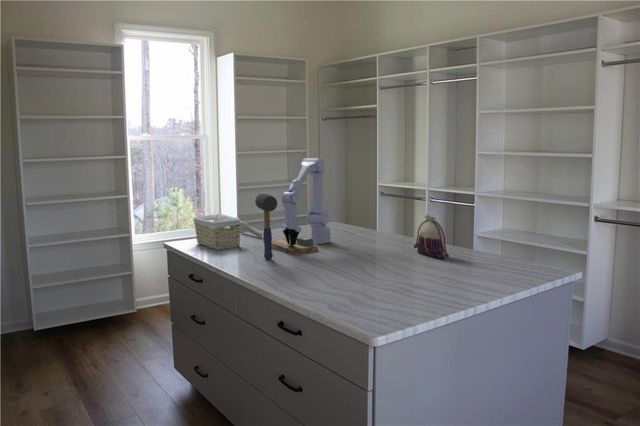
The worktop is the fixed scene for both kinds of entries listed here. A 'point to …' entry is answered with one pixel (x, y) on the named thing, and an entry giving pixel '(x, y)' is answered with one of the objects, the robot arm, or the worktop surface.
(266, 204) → the rubber mallet
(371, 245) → the worktop surface
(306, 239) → the block
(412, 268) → the worktop surface
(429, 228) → the pouch
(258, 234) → the gun
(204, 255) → the worktop surface
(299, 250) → the board
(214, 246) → the storage basket
